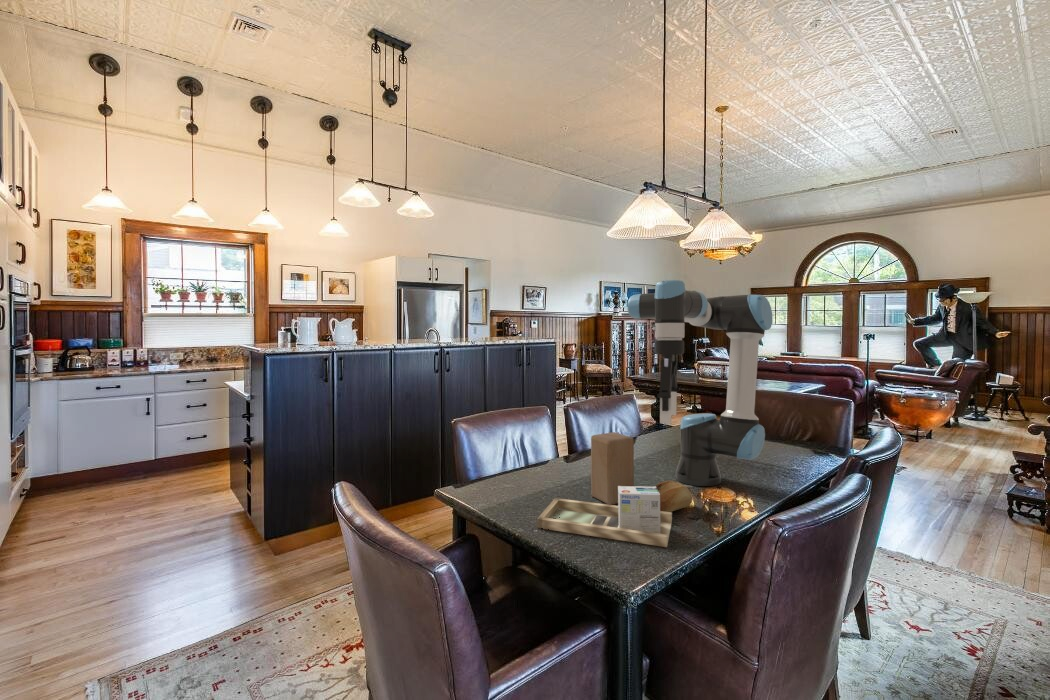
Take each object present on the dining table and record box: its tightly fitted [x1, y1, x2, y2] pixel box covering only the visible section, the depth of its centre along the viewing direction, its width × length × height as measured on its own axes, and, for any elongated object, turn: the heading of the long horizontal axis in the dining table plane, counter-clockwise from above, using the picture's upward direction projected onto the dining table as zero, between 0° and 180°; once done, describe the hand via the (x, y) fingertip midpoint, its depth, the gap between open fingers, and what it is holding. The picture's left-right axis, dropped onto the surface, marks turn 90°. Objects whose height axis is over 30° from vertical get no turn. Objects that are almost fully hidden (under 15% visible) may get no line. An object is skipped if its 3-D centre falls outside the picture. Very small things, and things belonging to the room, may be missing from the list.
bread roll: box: [655, 480, 693, 513], centre depth 141 cm, size 10×15×8 cm, turn 130°
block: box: [590, 431, 635, 505], centre depth 150 cm, size 10×10×20 cm
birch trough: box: [536, 497, 673, 548], centre depth 131 cm, size 34×17×3 cm, turn 69°
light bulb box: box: [617, 485, 660, 534], centre depth 127 cm, size 11×7×11 cm, turn 84°
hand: (668, 419), depth 127 cm, fingers open, 13 cm apart
